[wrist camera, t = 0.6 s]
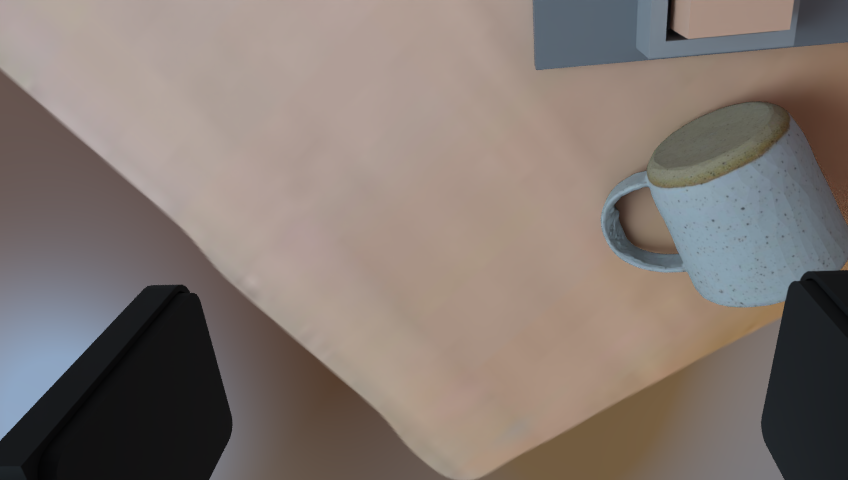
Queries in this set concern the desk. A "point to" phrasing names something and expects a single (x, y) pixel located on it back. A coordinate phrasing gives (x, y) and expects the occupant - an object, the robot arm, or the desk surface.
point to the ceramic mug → (737, 206)
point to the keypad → (661, 32)
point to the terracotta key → (729, 17)
